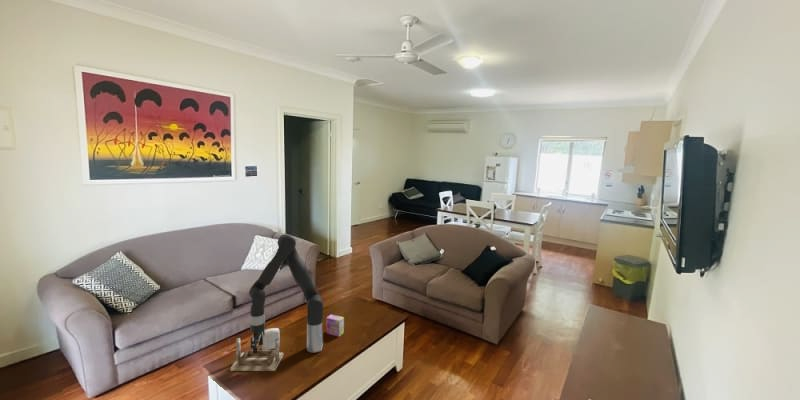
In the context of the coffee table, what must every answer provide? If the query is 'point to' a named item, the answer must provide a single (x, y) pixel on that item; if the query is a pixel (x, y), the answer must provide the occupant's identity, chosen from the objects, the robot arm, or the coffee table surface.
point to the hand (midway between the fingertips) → (258, 348)
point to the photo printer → (270, 338)
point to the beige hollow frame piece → (256, 359)
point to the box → (335, 325)
